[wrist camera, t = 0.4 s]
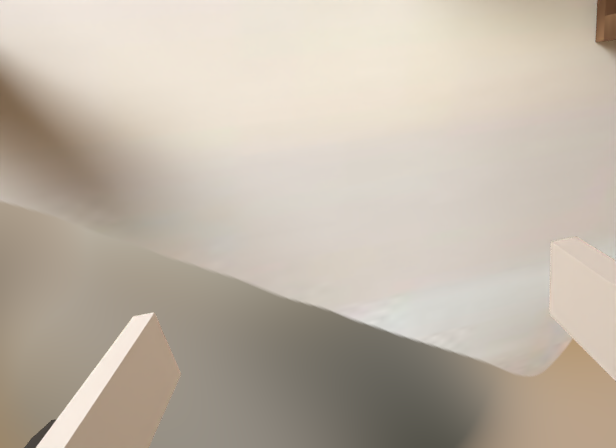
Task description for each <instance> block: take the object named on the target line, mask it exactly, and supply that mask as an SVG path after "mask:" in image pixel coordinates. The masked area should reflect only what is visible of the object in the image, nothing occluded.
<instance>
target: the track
mask: <svg viewBox="0 0 616 448" xmlns="http://www.w3.org/2000/svg"><path fill="white" fill-rule="evenodd" d="M608 40H616V0H598V4H597V26H596V42H600V41H608Z"/></svg>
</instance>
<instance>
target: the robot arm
mask: <svg viewBox="0 0 616 448" xmlns="http://www.w3.org/2000/svg"><path fill="white" fill-rule="evenodd" d="M549 314H550V315H551V316H552V317H553V318H554V319H555V320H556V322H557V323H558V324H559V325H560V326H561V327H562V328H563V329H564V330H565V331H566V332H567V333H568V334H569V335H570V336H571V337H572V338H573V339H574V340H575V341H576V342H577V343H578V344H579V345H580V346H581V347H582V348H583V349H584V350H585V351H586V352H587V353H588V354H589V355H590V356H591V357H592V358H593V359H594V360H595V361H596V362H597V363H598V364H599V365H600V366H601V367H602V368H603V369H604V370H605V371H606V372H607V373H608V374H609V375H610V376H611V377H612V378H613V379H614V380H615V381H616V260H614V259H612V258H611V257H609V256H607V255H606V254H604V253H603V252H601V251H599V250H598V249H596V248H594V247H593V246H591V245H590V244H588V243H586V242H585V241H583V240H581V239H580V238H578V237H572V238H566V239H561V240H555V241H551V263H550V300H549ZM180 376H181V373H180V370H179V368H178V366H177V364H176V361H175V359H174V356H173V354H172V352H171V350H170V347H169V345H168V342H167V340H166V338H165V336H164V333H163V331H162V329H161V327H160V324H159V322H158V319H157V317H156V315H155V313H149V314H143V315H138V316H134V317H133V318H132V319H131V320H130V322H129V323H128V324H127V326H126V327H125V328H124V330H123V331H122V332H121V334H120V335H119V336H118V338H117V339H116V341H115V342H114V343H113V345H112V346H111V347H110V349H109V350H108V351H107V353H106V354H105V355H104V357H103V358H102V359H101V361H100V362H99V363H98V365H97V366H96V367H95V369H94V370H93V371H92V373H91V374H90V375H89V377H88V378H87V380H86V381H85V382H84V384H83V385H82V386H81V388H80V389H79V391H78V392H77V393H76V394H75V396H74V397H73V398H72V400H71V401H70V402H69V404H68V405H67V406H66V408H65V409H64V411H63V412H62V413H61V414H60V416H59V417H58V418H57V419H56V420H51V422H49V423H48V424H47V425H46V426H45V427H44V428H43V429H42V430H40V431H39V432H38V433H37V434H36V435H35V436H34V437H33V438H32V439H31V440H30V441H29V443H28V444H27V445H26V446H25V448H149V446H150V444H151V441H152V439H153V437H154V434H155V432H156V430H157V428H158V425H159V423H160V421H161V419H162V416H163V414H164V412H165V410H166V407H167V405H168V403H169V400H170V398H171V396H172V394H173V391H174V389H175V387H176V385H177V382H178V380H179V378H180Z"/></svg>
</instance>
